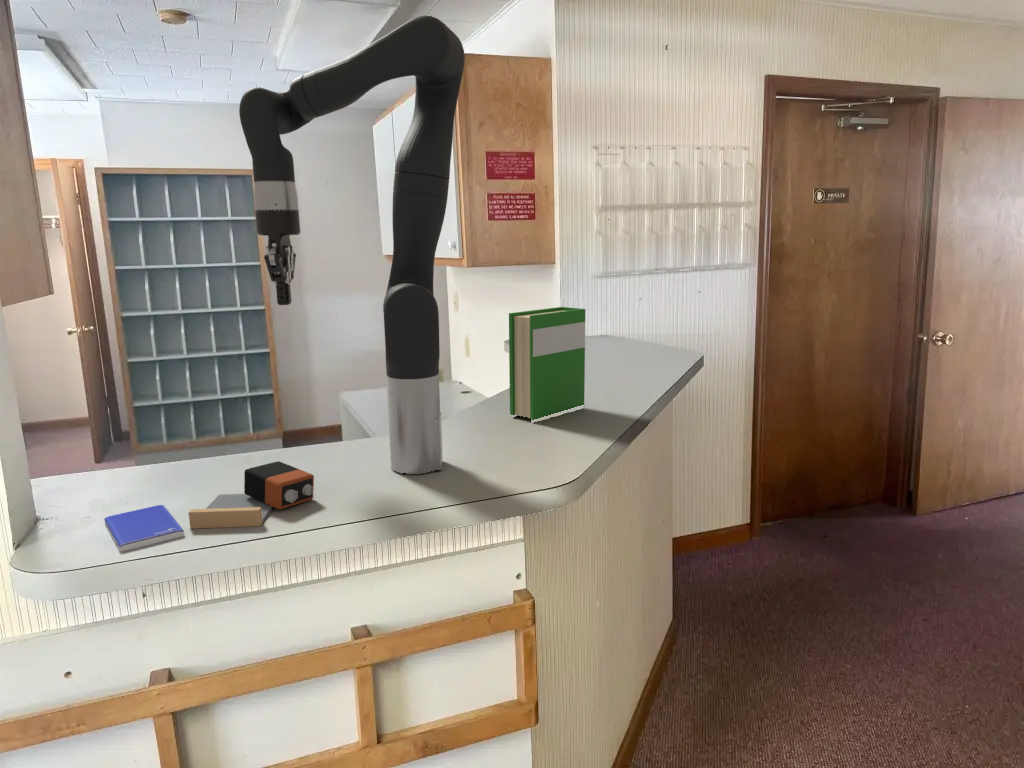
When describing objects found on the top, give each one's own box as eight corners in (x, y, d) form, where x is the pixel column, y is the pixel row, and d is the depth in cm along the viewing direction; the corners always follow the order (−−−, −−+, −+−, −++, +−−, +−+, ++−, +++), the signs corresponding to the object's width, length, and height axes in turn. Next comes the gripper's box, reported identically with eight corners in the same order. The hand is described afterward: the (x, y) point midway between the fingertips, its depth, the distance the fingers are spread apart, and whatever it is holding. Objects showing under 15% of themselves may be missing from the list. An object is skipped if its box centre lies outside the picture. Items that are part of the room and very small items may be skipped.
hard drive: (183, 528, 100) (163, 503, 109) (119, 544, 95) (103, 516, 104) (185, 538, 100) (164, 513, 110) (120, 555, 95) (105, 526, 105)
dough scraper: (281, 495, 115) (280, 481, 114) (260, 526, 103) (258, 510, 102) (219, 497, 114) (217, 482, 114) (190, 528, 102) (188, 512, 102)
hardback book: (533, 423, 156) (532, 315, 151) (509, 417, 161) (508, 313, 156) (584, 409, 168) (585, 308, 163) (561, 404, 173) (561, 306, 168)
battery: (243, 468, 111) (283, 485, 106) (279, 459, 117) (318, 475, 111) (242, 494, 112) (282, 512, 107) (278, 484, 118) (318, 501, 112)
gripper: (288, 206, 120) (296, 308, 124) (306, 209, 133) (313, 300, 137) (244, 207, 120) (253, 308, 124) (266, 209, 133) (273, 301, 137)
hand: (284, 304), depth 130 cm, fingers closed
